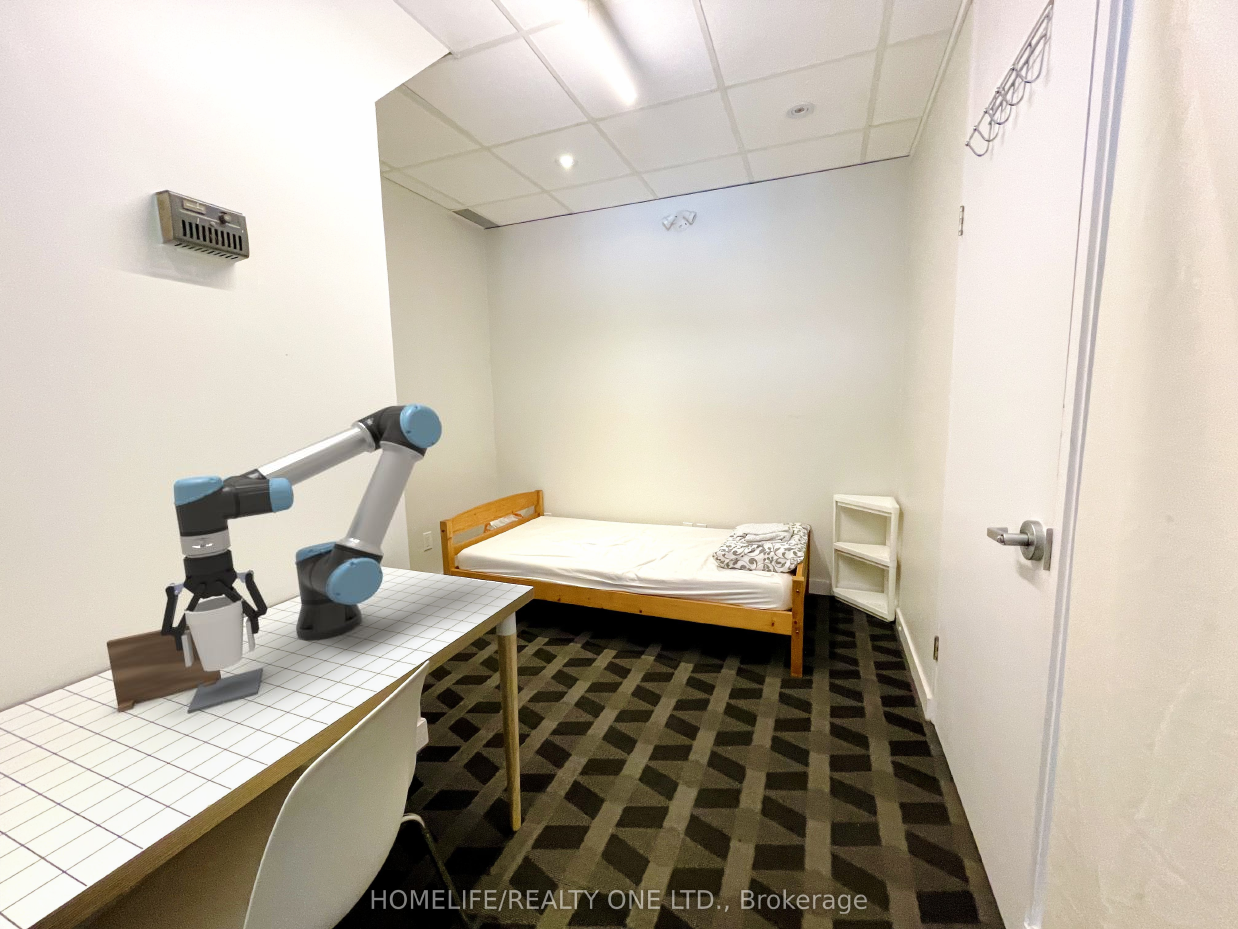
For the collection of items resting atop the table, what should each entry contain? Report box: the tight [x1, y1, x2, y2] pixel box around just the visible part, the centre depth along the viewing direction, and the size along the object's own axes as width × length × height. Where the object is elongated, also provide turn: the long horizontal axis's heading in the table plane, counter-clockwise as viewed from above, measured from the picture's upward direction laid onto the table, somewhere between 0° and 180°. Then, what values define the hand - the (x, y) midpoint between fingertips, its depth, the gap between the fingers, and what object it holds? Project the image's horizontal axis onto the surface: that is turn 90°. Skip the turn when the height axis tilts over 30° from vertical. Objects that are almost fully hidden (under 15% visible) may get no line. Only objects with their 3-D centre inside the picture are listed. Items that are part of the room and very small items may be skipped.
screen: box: [106, 624, 222, 714], centre depth 99 cm, size 5×16×14 cm, turn 122°
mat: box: [186, 667, 264, 714], centre depth 100 cm, size 11×11×1 cm
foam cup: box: [184, 595, 245, 671], centre depth 99 cm, size 10×9×13 cm
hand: (222, 656), depth 99 cm, fingers closed on foam cup, 9 cm apart
